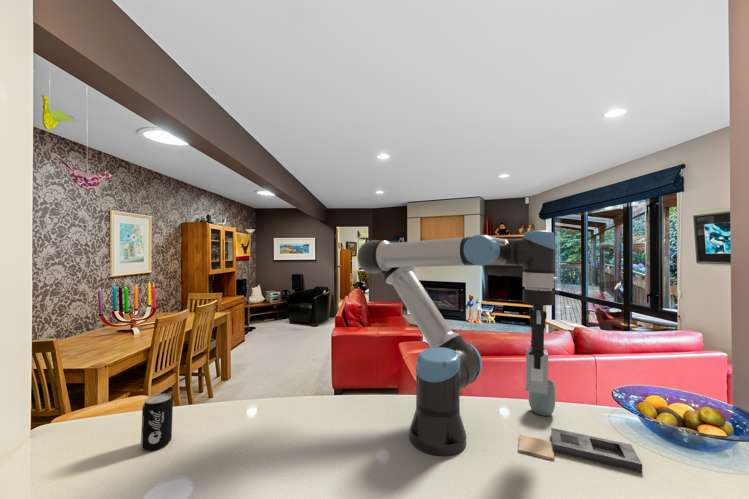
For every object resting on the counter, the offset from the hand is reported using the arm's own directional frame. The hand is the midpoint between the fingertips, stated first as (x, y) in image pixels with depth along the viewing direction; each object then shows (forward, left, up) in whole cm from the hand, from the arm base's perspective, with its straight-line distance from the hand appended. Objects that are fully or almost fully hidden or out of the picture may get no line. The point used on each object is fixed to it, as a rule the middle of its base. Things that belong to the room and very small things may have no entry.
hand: (536, 376), depth 84 cm
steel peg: (0, 0, -3) cm, 3 cm away
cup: (+2, +23, -18) cm, 29 cm away
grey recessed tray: (+13, +4, -18) cm, 23 cm away
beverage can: (-89, -44, -18) cm, 101 cm away
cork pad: (0, 0, -18) cm, 18 cm away
